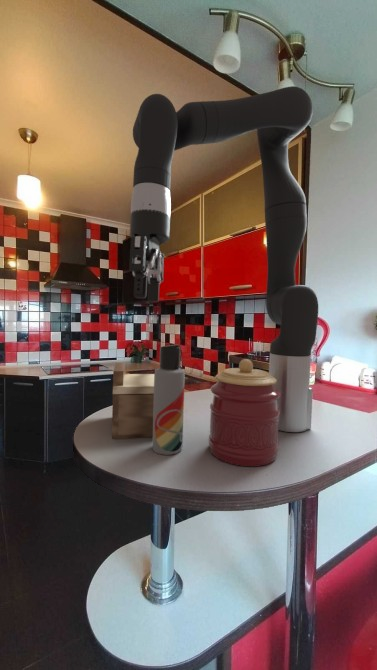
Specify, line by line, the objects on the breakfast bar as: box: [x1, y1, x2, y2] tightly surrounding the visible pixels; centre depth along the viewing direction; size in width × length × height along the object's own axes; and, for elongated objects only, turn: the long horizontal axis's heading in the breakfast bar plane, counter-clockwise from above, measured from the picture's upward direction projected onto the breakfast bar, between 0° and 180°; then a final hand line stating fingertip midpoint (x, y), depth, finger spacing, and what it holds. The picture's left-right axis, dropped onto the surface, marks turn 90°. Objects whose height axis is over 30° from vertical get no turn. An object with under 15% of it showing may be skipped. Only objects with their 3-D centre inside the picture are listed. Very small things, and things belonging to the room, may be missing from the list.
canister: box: [208, 358, 281, 467], centre depth 57 cm, size 13×13×18 cm
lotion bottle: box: [152, 344, 186, 455], centre depth 57 cm, size 6×6×20 cm
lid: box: [112, 362, 154, 395], centre depth 68 cm, size 12×14×4 cm
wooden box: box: [111, 393, 154, 440], centre depth 69 cm, size 12×14×9 cm
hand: (147, 300), depth 58 cm, fingers open, 8 cm apart
